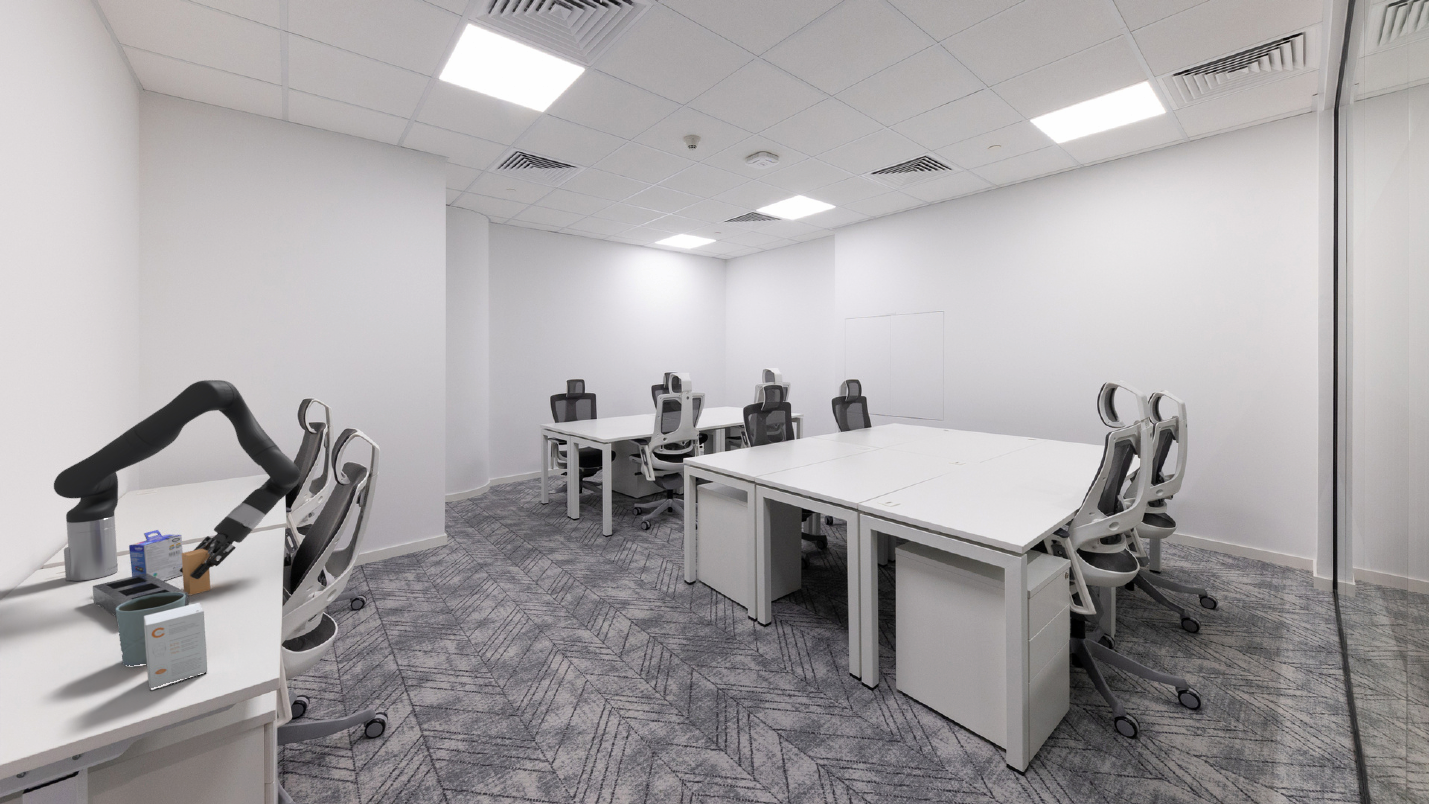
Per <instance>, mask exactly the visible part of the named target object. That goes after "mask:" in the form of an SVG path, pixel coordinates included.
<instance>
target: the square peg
mask: <svg viewBox="0 0 1429 804" xmlns="http://www.w3.org/2000/svg"><path fill="white" fill-rule="evenodd" d="M193 550H194V549H193ZM193 550H190V551H186V552H183V553H182V568H183V575H182V581H183V583H182V584H183V591H185V592H187V593H188V596H192V595H196V594H199V593H203V592H207V591H210V590H211V578H210V577H211V576H210V568H209V569H208V570H207V571H206V572H205V573H204V574H203V575H202V576H201V577H200V578H199V579H195V578H193V577H191V576H190V574H191V573H192V572H193V571H194V570H195V569H196V568H197V567H198V566H199V565H200V564H201V563H202V564H204V563H203V561H204V560H205V558H206V553H207V550H204V549H198V550H194V551H193Z"/></svg>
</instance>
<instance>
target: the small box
mask: <svg viewBox="0 0 1429 804" xmlns="http://www.w3.org/2000/svg"><path fill="white" fill-rule="evenodd" d="M144 630H145V645H146V660H147V665H146V668H147V669H146V670H147V671H146V672H147V680H148V681H147V682H148V686H149V687H150V688H149V690H150V689H151V688H154V687H158V686H161V685H163V684H166V683H170V682H174V681H177V680H180V679H185V678H189V677H190V676H195V675H198V674H200V673H205V672H207V673H208V658H207V657H208V656H207V640H206V638H207V637H206V624H205V611H204V610H203V608H202V605H201V603H200V602H196V603H192V604H189V605H187V606H183V607H179V608H175V609H171V610H167V611H163V612H158V613H154V614H150V615H146V616H144Z"/></svg>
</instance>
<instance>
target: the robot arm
mask: <svg viewBox="0 0 1429 804" xmlns="http://www.w3.org/2000/svg"><path fill="white" fill-rule="evenodd" d="M215 411H219V412H220V413H222V414H223V416H225V417H226V418H227V419H228V420H229V421H230V423H231V425H232V426H233V428H234V431H235V434H236V438H237V441H238V444H239V445H240V447H241V448H242V449H243V451H244V452H245V453H246V455H248V456H249V458H250V459H251V460H252V461H253V462H254V463H255V464H257V465H258V466H260V467H261V468H262V469H263V470H264V472H265V473H266V474H267V475H268V476H269V478H268V479H267V480H266V481H265V482H264V483H263V484H262V485H261V486H260V487H259V488H257V489H255V490H253V491H252V492H251V493H250V494H249V495H248V496H247V497H246V498H245V499H243V501H241V502H240V503H239V504H238V505H236V507H234V508H233V509H232V510H231V511H230V512H229V513H228V514H227V515H226V516H225V517H224V518H223V519H222V520H220V522H219V523H218V524H217V525H216V526H215V527H214V528H213V531H214V532H216V534H215V535H214V536H213V537H210V536H206V537H204V539H203V540H202V541H201V542H200V543H199V544H198V545H197V546H196V547H195V548H194V549H193V550H192V551H194V550H198V549H204V550H207V553H206V558H205V560H204V561H203V563H204V564H202V563H201V564H200V565H199V566H198V567H197V568H196V569H195V570H194V571H193V572H192V573H191V574H190V576H191V577H193V578H195V579H199V578H200V577H201V576H202V575H203V574H204V573H205V572H206V571H207V570H208V569H209V570H210V569H211V568H213V567H214V566H215V567H219V565H220V564H222V563H223V561H224V560H225V559H226V558H228V556H229V555H230V554H232V552H233V551H234V550H235V549H236V546H234V545H233V543H234V542H236V543H238V544H240V543H242V542H243V541H244V540H245V538H247V537H248V536H249V534H251V532H252V531H253V530H254V529H255V528H256V527H258V525H260V523H261V522H262V521H263V520H264V517H266V516H267V515H268V513H269V512H271V511H272V509H274V507H276V505H277V504H278V503H279V501H280V500H282V499H283V498H285V496H286V495H287V494H289V493H290V492H291V491H292V490H293V489H294V488H295V487H296V486H297V485H298V484H299V482H300V480H301V471H300V469H299V467H298V466H297V464H296V463H295V462H294V461H292V460H291V459H290V457H288V456H287V455H286V454H284V452H283V451H282V450H281V449H280V447H279V446H278V445H277V444H276V442H274V440H273V439H272V438H271V437H270V436H269V435H268V433H266V431H265V430H264V429H263V428H262V426H261V425H260V424H259V422H258V421H257V419H256V418H255V415H254V414H253V413H252V411H251V409H250V408H249V406H248V405H247V403H246V402H245V399H244V398H243V396H242V395H241V392H240V391H239V390H238V389H237V388H236V386H235V385H234V384H233V383H231V382H230V381H227V380H220V379H218V380H215V379H214V380H213V379H210V380H209V379H208V380H207V379H204V380H198V381H195V382H193V383H192V384H190V385H188V386H187V387H186V388H185V389H184V390H182V391H181V392H180V393H179V394H178V395H177V396H175V398H173V399H172V400H171V401H170V402H169V403H168V404H166V405H164V406H163V407H161V408H160V409H158V410H157V411H155V412H153V413H152V414H151V415H149V416H147V417H146V418H144V419H143V420H141V421H140V422H137V424H135V425H134V426H132V427H131V428H128V429H127V430H126V431H125V432H123V433H122V434H120V436H118V437H116V438H115V439H113V440H112V441H110V442H109V443H107V444H106V445H105V446H103V447H102V448H101V449H99V450H98V451H96V452H95V453H93V454H91V455H89V456H88V457H86V458H85V459H82V460H80V461H79V462H77V463H75V464H73V465H71V466H69V467H67V468H66V469H64V470H61V472H60V473H58V475H57V476H56V477H55V479H54V482H53V490H54V492H55V493H56V494H57V495H58V496H60V497H62V498H65V499H80V500H79V502H78V503H77V504H76V505H75V506H74V507H73V508H71V509H70V510H68V511H67V512H66V516H65V519H66V534H67V546H66V547H65V548H64V549H63V559H64V560H63V561H64V573H65V581H66V582H67V581H73V582H74V581H75V582H78V581H81V582H83V581H89V580H95V579H99V578H103V577H108V576H110V575H113V574H115V573H118V572H119V571H118V570H119V569H118V568H119V567H118V565H119V563H118V549H117V533H116V531H117V530H116V517H115V510H116V508H117V506H118V503H119V478H118V474H117V472H118V471H121V470H124V469H126V468H129V467H130V466H132V465H135V464H137V463H140V462H142V461H144V460H147V459H149V458H151V457H153V456H154V455H156V454H158V453H159V452H161V451H162V450H164V449H165V448H167V447H168V446H170V445H171V444H172V443H174V442H175V440H176V439H177V438H179V435H180V434H181V432H182V430H183V428H184V427H185V425H187V424H188V423H190V422H192V420H193V421H194V419H196V418H198V417H199V416H201V415H204V414H206V413H209V412H215ZM180 572H182V573H183V568H181V569H180Z"/></svg>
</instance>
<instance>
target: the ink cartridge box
mask: <svg viewBox="0 0 1429 804" xmlns="http://www.w3.org/2000/svg"><path fill="white" fill-rule="evenodd" d="M152 534H155V535H152ZM156 534H157V535H156ZM143 535H144V537H145V540H144V541H140V542H136V543H133V544H128V545H129V546H128V549H129V550H128V551H129V557H130V567H131V568H130V569H131V577H133V576H137V575H141V574H146V573H147V574H149V575H151V576H154V577H156V578H158V579H160V580H162V581H164V580H166V581H169V580H171V578H172V579H174V577H175V578H177V577H180V576H183V573H182V572H180V569H181V568H182V553H184V551H183V540H182V538H183V537H182V534H164V535H162V533H161V532H160V531H159V529H155V530H152V531H148V532H144V533H143ZM150 535H152V536H150ZM164 582H165V581H164Z"/></svg>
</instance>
